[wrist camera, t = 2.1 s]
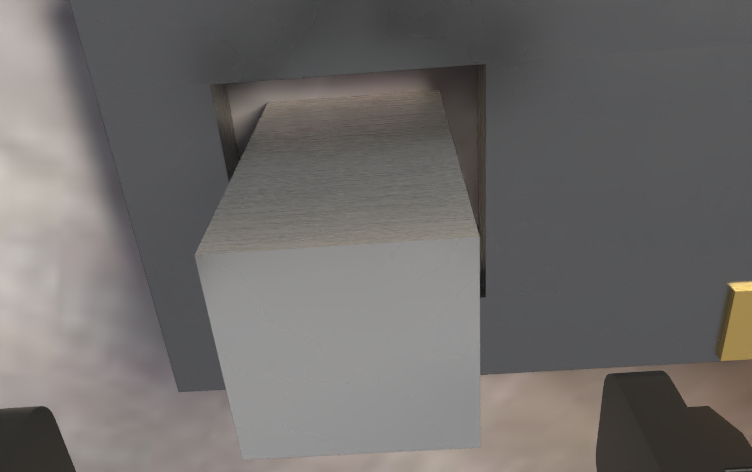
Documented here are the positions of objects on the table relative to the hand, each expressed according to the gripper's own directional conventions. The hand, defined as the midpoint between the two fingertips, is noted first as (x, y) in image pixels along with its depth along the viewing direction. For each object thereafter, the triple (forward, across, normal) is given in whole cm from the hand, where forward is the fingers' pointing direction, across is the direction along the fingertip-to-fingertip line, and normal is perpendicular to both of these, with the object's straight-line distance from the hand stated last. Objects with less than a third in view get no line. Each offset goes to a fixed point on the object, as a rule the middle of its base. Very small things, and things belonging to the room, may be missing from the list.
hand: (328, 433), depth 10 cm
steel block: (+10, 0, 0) cm, 10 cm away
